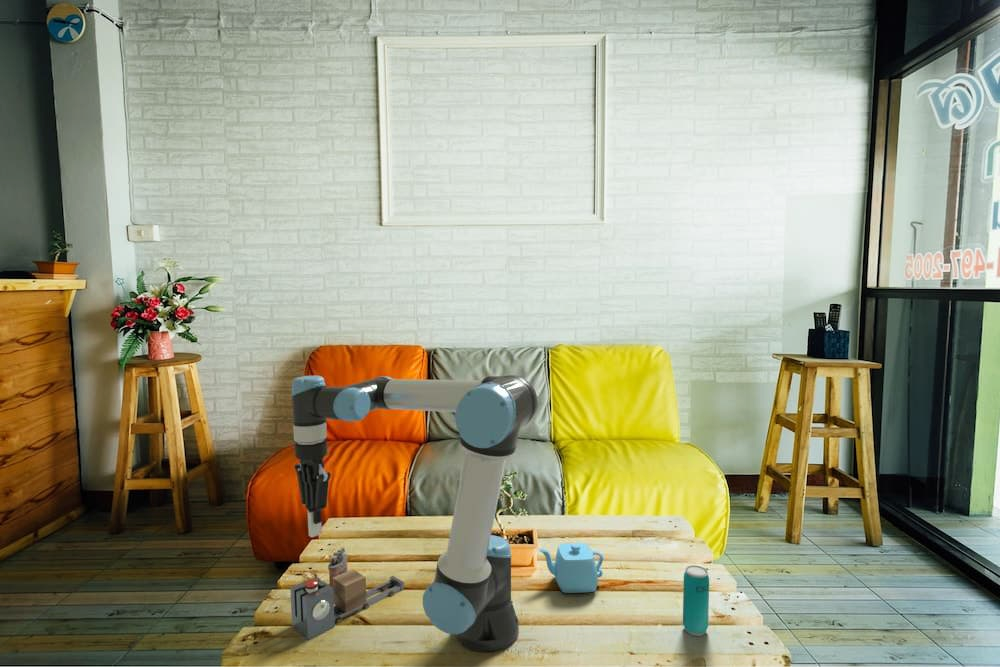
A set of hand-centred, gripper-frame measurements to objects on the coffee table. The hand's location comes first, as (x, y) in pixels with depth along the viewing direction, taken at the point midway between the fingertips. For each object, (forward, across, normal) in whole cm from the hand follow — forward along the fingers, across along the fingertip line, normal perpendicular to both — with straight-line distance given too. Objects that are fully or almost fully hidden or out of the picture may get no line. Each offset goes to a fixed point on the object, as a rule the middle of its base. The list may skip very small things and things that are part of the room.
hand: (315, 534), depth 139 cm
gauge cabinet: (+23, 0, +2) cm, 23 cm away
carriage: (+21, 0, -9) cm, 23 cm away
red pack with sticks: (+23, +12, -13) cm, 29 cm away
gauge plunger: (+18, 0, +2) cm, 18 cm away
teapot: (+24, -36, -56) cm, 70 cm away
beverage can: (+24, -70, -59) cm, 95 cm away
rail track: (+23, 0, -9) cm, 24 cm away
